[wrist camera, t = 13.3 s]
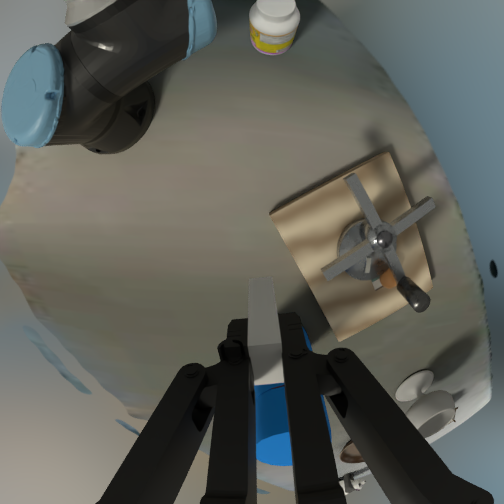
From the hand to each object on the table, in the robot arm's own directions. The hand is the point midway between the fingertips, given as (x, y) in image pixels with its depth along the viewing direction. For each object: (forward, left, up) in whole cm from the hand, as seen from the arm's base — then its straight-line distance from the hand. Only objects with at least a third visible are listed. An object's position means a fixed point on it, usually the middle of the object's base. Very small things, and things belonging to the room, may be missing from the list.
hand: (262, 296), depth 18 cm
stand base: (+15, +12, -27) cm, 33 cm away
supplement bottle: (-24, +16, -28) cm, 40 cm away
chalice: (+60, +14, -28) cm, 68 cm away
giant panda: (+106, -20, -28) cm, 112 cm away
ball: (+19, +14, -25) cm, 35 cm away
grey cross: (+10, +14, -25) cm, 30 cm away
